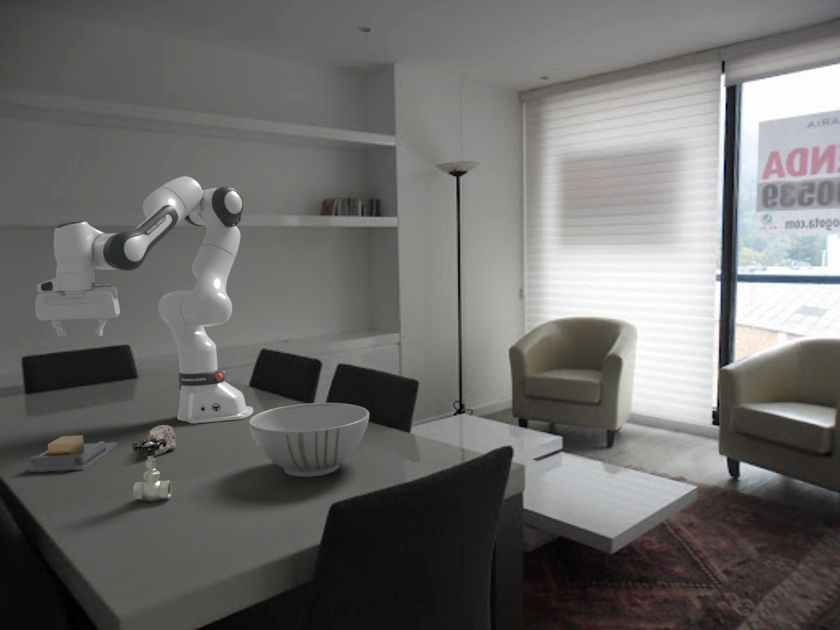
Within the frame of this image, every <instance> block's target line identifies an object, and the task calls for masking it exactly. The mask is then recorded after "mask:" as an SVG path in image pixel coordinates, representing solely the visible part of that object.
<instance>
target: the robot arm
mask: <svg viewBox="0 0 840 630" xmlns="http://www.w3.org/2000/svg"><path fill="white" fill-rule="evenodd" d="M142 205H143V206H142V209H143V215H144V217H145V218H146V219H145V220H144V221H143V222H142V223H139V225H138V226H137V227H136V228H134V229H133V230H132V229H131V230H128V231H122V232H115V233H114V232H113V233H105V232H103V231H100V230H98V229H96V228H95V227H93V226H91V225H90V224H89V223H88V222H87V221H86V220H75V221H74V220H73V221H66V222H62V223H58V225H57V226H55V228H54V235H53V249H54V250H53V251H54V254H53V255H54V258H55V260H56V270H55V274H56V277H54V278H52V279H49V280H46V281H43V282H41V283H38V284H37V285H36V290H37V292H39V293H38V294H37V295H36V297H35V309H34V310H35V317H36V318H37V319H38V320H39V321H51V326H52V327H53V329H54V330H55V331H56V335H57V338H65V337H67V330H66V329H63V328H62V326H61V325H60V324H62V321H65V320H89V319H90V320H92V319H93V320H94V319H96V320H97V324H98V323H99V325H98V326H97V328H95V329H93V332H94V333H93V335H94V336H95V337H102V336H103V335H104V334H103V333H104V328H105V326H106V324H107V319H115V318H118V317H119V316H120V314H121V309H120V303H119V300H118V299H119V298H118V296H119V291H118V287H117V285H115V284H113V283H112V282H96V278H95V270H96V269H97V270H103V271H105V270H107V271H111V270H112V271H113V270H120V271H133V270H134V271H135V270H137V269H138V268H139V267H140V266H142V264H143V263H144V262H145V260H146V258H147V256H148V254H149V252H150V251H151V250H152V248H153V247H154V246H155V245H157V243H158V242H160V241H161V240H162V239H163V238H164V237H165V236H166V235H167V234H168V233H169V232H171V230H172V229H174V227H175V226H176V225H178V223H180V222H181V221H183V220H185V221H186V223H188V224H190V225H191V226H195V227H204V226H205V228H206V230H205V237H204V239H203V240H202V243H201V245H200V247H199V250H198V251H197V254H196V256H195V259H194V262H193V264H192V267H191V272H192V274H193V276H194V277H195V278H196V283H195V286H194V288H193V289H191V290H188V289H187V290H185V289H184V290H183V289H182V290H175V291H171V292H168V293H166V294H164V295H163V296H162V297H161V298H160V299H159V302H158V304H157V305H158V307H157V309H158V314H159V317H160V318H161V320H162V321H163V322H165V323H166V325H167V326H168V328H169V330H171V333H172V335H173V338H174V340H175V343H176V348H177V353H178V355H177V356H178V364H179V366H178V367H179V372H178V388H179V391H180V395H179V396H180V397H179V407H178V414H177V417H176V419H177V420H179V421H182V422H187V423H189V424H200V423H201V424H203V423H214V422H215V423H216V422H224V421H235V420H236V421H237V420H242V419H246V418H248V417H251V415H252V414H253V413H254V408H253V407H252V406H247V404H246V400H245V396H244V393H242V391H241V390H239V389H238V388H236V387H235V386H233V385H231V384H229V383H228V382H227V381H225V380H226V378H225V377H226V376H225V375H226V374H225V373H226V371H225V370H223V371H222V370H221V369H219V368H218V354H217V353H218V352H217V345H216V343H215V342H214V341H213V340H212V339H211V337H209V336H208V334H207V333H206V329H205V327H210V328H211V327H215V326H219V325H222V324H225V323H227V322H228V321H229V320H230V318H231V316H232V313H233V303H232V301H231V299H230V297H229V296H228V294H227V282H228V279H229V276H230V273H231V270H232V267H233V265H234V262H235V260H236V257H237V254H238V251H239V247H240V244H241V243H240V242H241V238H242V237H241V236H242V235H241V231H240V229H239V228H238V227H237V225H238V224H239V223H240V222H241V221H242V219H241V218H242V217H241V216H243V211H244V200H243V197H242V195H241V193H240V192H239V190H237V189H236V188H233V187H229V186H220V187H213V188H208V189H202V187H201V185H200V183H199V182H198V181H197V180H195V179H194V178H193V177H190V176H186V175H185V176H184V175H183V176H180V177H177V178H175V179H172V180H169V181H168V182H166V183H164V184H163V185H161V186H159V187H158V188H156V189H155V190H154V191H152V192H151V193H150V194H149V195H148V196H147V197H146V198H145V200H143V204H142Z"/></svg>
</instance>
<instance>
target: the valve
mask: <svg viewBox="0 0 840 630" xmlns="http://www.w3.org/2000/svg"><path fill="white" fill-rule="evenodd" d="M154 443H155V444H154ZM161 445H163V447H166V446H167V442H166V441H165V439H164V438H162V439H159V440H157V438H152V439H151V440H148V439H147V440H146V439H140V440H139V442H132V443H131V447H132V451H133V452H139V453H140V454H144V457H147V456H148V457H147V459H146V460H145V467H146V468H147V470H146V471H145V472H144V473H143V480H145V481H140V482H139V481H136V482H135V483H134V485H133V489H132V497H133V499H134V501H137V502H141V501H146V502H147V501H148V502H156V501H159V500H160V499H161V500H169V499H171V497H172V494H173V485H172V484H173V483H172V481H171V480H159V478H160V475H161V474H160V473H161V472H160V471H159V470H157V469H156V468H155V467H157V463H156V459H155V458H154V457H153V455H155V454H156V453H155V451H157V450H159V449H160V446H161Z"/></svg>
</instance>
